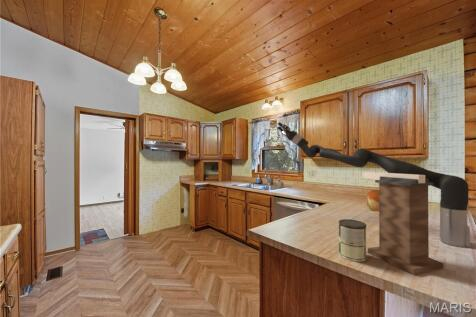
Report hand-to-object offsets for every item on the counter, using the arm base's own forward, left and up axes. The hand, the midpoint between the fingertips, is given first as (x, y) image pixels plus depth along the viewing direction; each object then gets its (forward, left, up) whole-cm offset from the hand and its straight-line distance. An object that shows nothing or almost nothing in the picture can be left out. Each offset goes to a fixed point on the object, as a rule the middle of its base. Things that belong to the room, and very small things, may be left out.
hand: (278, 125), depth 158 cm
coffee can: (-50, +54, -68) cm, 100 cm away
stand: (-68, +48, -68) cm, 107 cm away
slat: (-64, +45, -36) cm, 86 cm away
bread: (-70, -57, -68) cm, 113 cm away
